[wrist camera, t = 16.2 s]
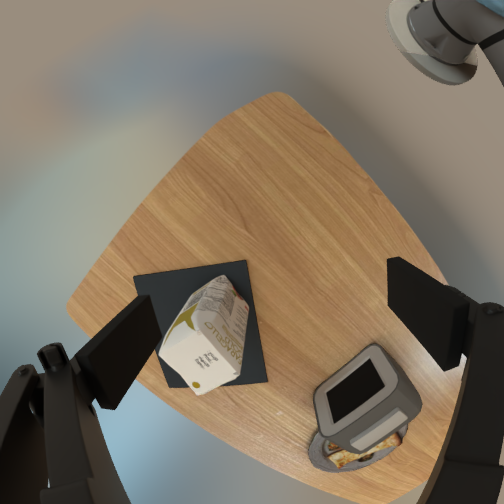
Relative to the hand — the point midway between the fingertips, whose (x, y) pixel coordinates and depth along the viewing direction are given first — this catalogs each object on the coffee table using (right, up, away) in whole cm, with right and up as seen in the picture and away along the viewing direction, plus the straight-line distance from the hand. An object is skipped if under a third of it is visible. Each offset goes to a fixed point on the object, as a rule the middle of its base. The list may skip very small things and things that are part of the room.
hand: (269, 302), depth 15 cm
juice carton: (-6, -5, +32) cm, 33 cm away
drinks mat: (-10, -12, +34) cm, 38 cm away
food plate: (+25, -42, +40) cm, 63 cm away
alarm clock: (+20, -23, +36) cm, 47 cm away
